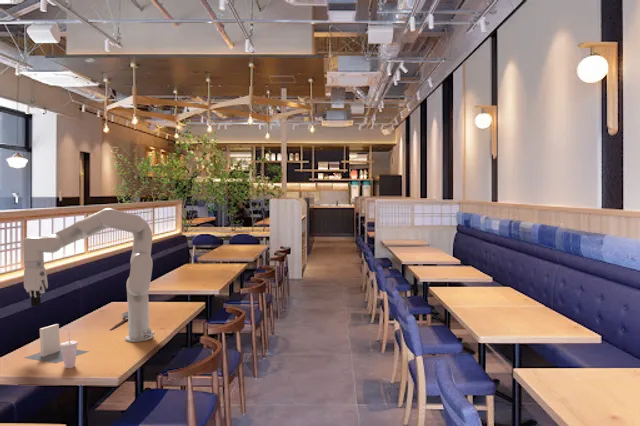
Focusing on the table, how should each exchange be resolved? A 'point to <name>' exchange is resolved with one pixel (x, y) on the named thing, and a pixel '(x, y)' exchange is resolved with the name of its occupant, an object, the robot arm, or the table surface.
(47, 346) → the tile
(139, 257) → the robot arm
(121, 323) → the spoon
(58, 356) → the mat
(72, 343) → the smoothie
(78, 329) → the table surface
